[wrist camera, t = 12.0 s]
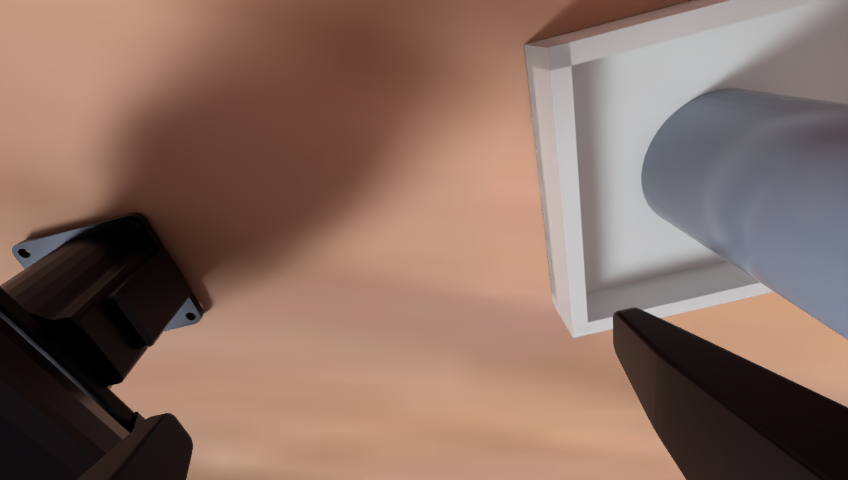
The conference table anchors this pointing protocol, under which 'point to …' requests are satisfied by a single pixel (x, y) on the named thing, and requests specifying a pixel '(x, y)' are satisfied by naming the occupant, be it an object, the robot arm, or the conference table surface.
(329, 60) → the conference table surface
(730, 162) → the canister
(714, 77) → the tray
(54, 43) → the conference table surface
